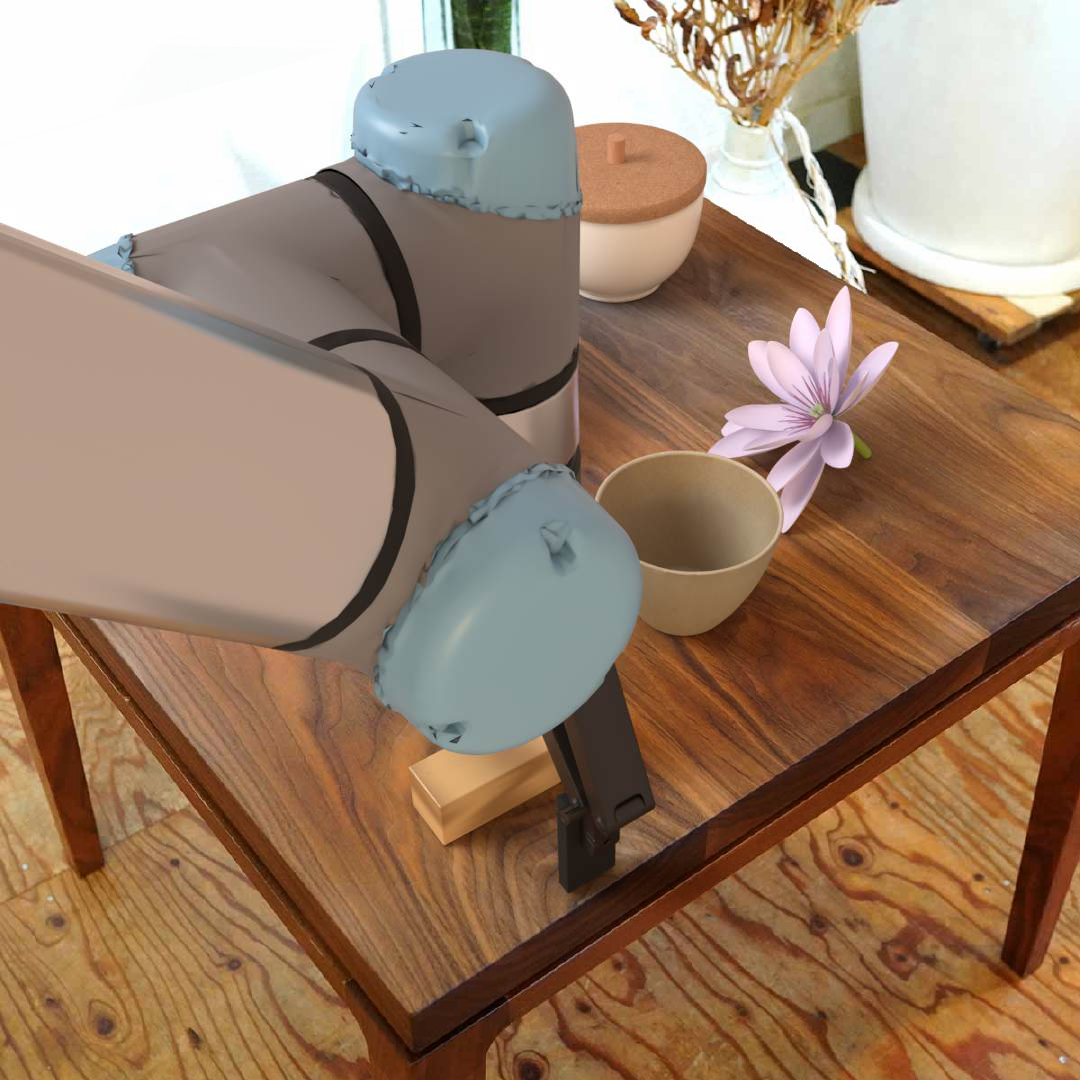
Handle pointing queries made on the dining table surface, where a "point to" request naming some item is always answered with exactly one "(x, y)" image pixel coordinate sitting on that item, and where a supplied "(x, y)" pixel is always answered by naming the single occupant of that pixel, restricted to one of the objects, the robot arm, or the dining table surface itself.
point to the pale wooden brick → (478, 786)
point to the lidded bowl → (635, 207)
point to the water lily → (805, 403)
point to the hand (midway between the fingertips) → (508, 780)
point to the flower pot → (694, 534)
